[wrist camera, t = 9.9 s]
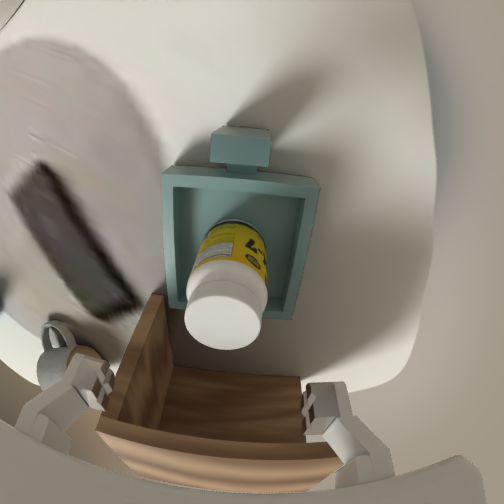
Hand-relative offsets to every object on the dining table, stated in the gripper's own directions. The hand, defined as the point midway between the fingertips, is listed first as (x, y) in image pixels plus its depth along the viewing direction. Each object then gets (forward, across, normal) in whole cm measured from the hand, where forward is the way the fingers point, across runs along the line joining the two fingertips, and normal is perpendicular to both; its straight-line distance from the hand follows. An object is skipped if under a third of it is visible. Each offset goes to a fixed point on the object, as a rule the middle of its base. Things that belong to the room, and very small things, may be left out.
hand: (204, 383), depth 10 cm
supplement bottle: (+13, 0, +1) cm, 13 cm away
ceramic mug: (+13, +20, +19) cm, 31 cm away
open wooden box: (+13, -1, +13) cm, 19 cm away
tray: (+13, -1, -1) cm, 13 cm away
